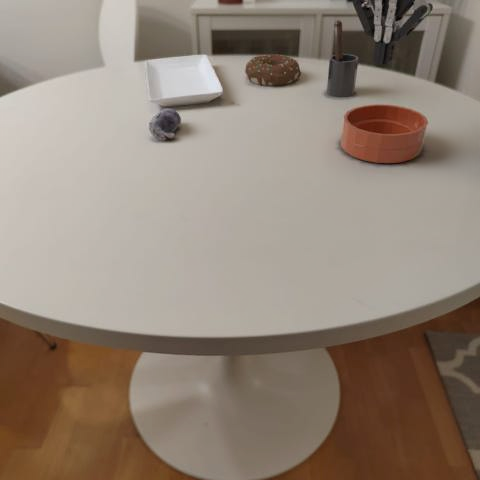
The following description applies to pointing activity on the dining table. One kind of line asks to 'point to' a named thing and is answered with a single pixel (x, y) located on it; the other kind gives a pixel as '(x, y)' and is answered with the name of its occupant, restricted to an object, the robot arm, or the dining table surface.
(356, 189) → the dining table surface
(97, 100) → the dining table surface
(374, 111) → the bowl
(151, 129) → the grey plush toy
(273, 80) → the donut
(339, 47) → the stick
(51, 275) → the dining table surface
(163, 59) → the tray
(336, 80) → the holder
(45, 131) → the dining table surface
